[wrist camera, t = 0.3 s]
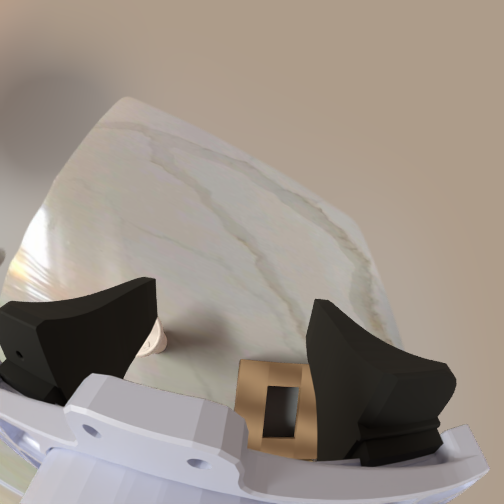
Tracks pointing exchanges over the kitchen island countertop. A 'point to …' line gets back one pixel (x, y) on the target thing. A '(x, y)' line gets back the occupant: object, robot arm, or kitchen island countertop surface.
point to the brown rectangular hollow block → (254, 401)
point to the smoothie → (154, 341)
